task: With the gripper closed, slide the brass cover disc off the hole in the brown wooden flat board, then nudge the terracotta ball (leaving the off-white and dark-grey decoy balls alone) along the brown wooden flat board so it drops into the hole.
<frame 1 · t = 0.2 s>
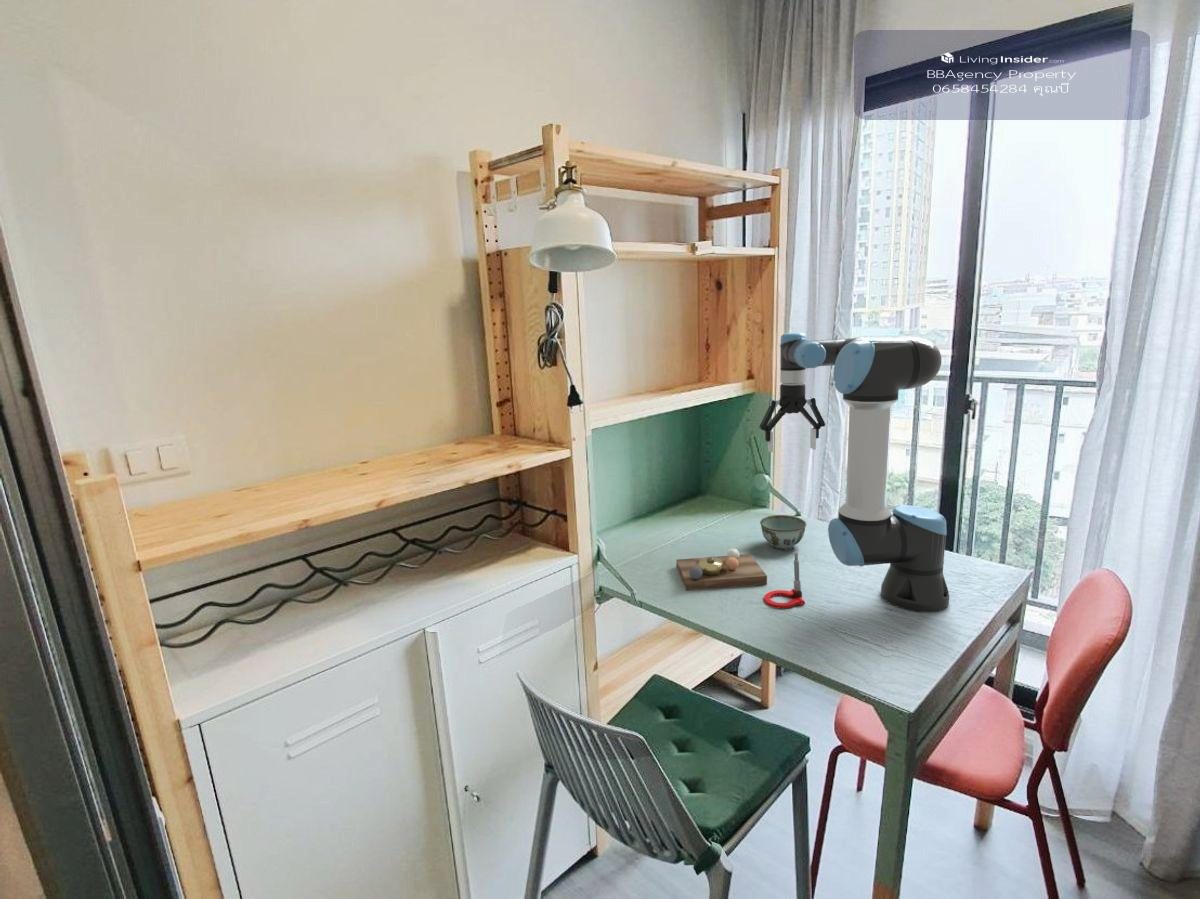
hand: (791, 450, 192), 28 cm above the table, fingers open, 13 cm apart
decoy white: (733, 554, 173), point 4 cm above the table, touching brown wooden flat board
cover: (710, 564, 167), point 5 cm above the table, slide at 0.0 cm
ball: (732, 563, 167), point 4 cm above the table, touching brown wooden flat board
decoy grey: (695, 572, 163), point 4 cm above the table, touching brown wooden flat board
brown wooden flat board: (719, 575, 170), on the table
tow hook: (782, 601, 154), on the table
bowl: (782, 547, 187), on the table
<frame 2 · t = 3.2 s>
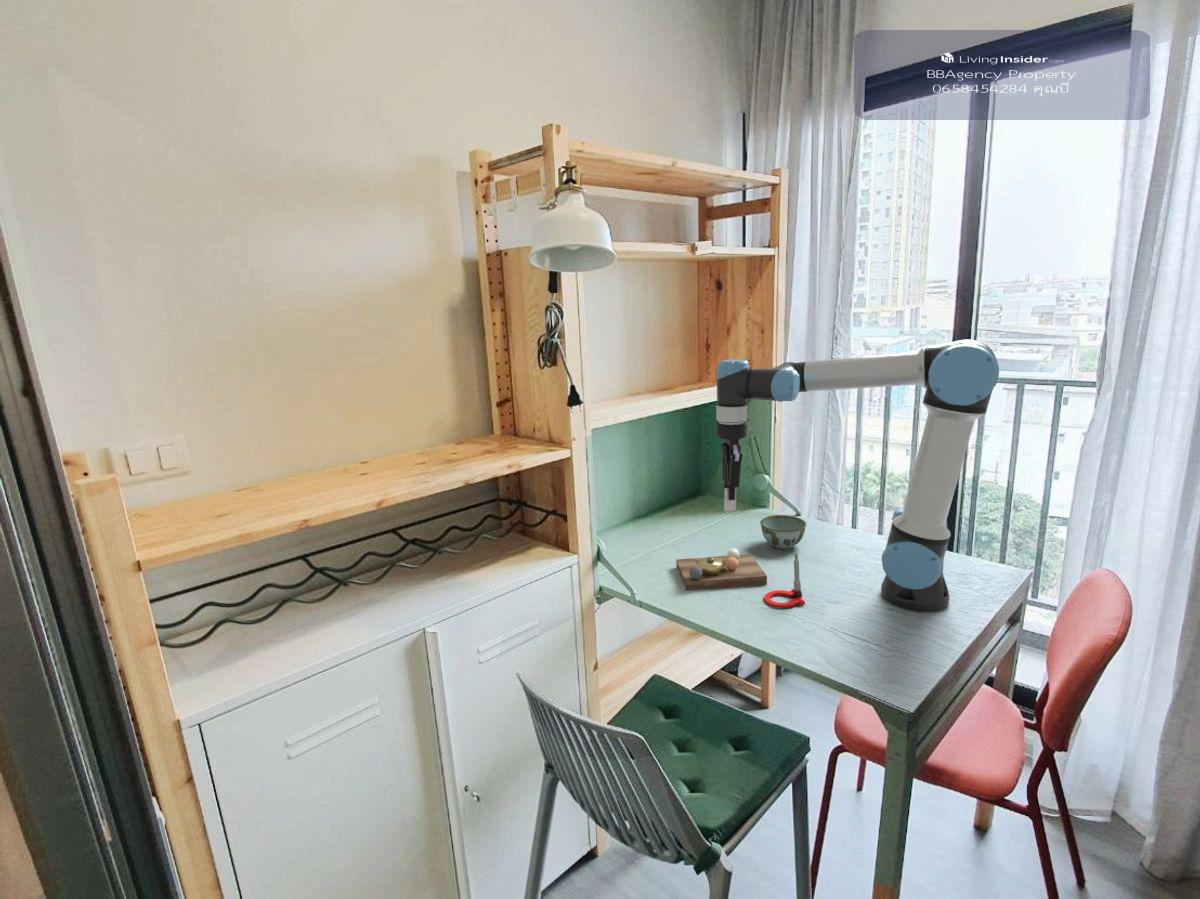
hand: (730, 510, 157), 22 cm above the table, fingers closed
nothing on the table moved.
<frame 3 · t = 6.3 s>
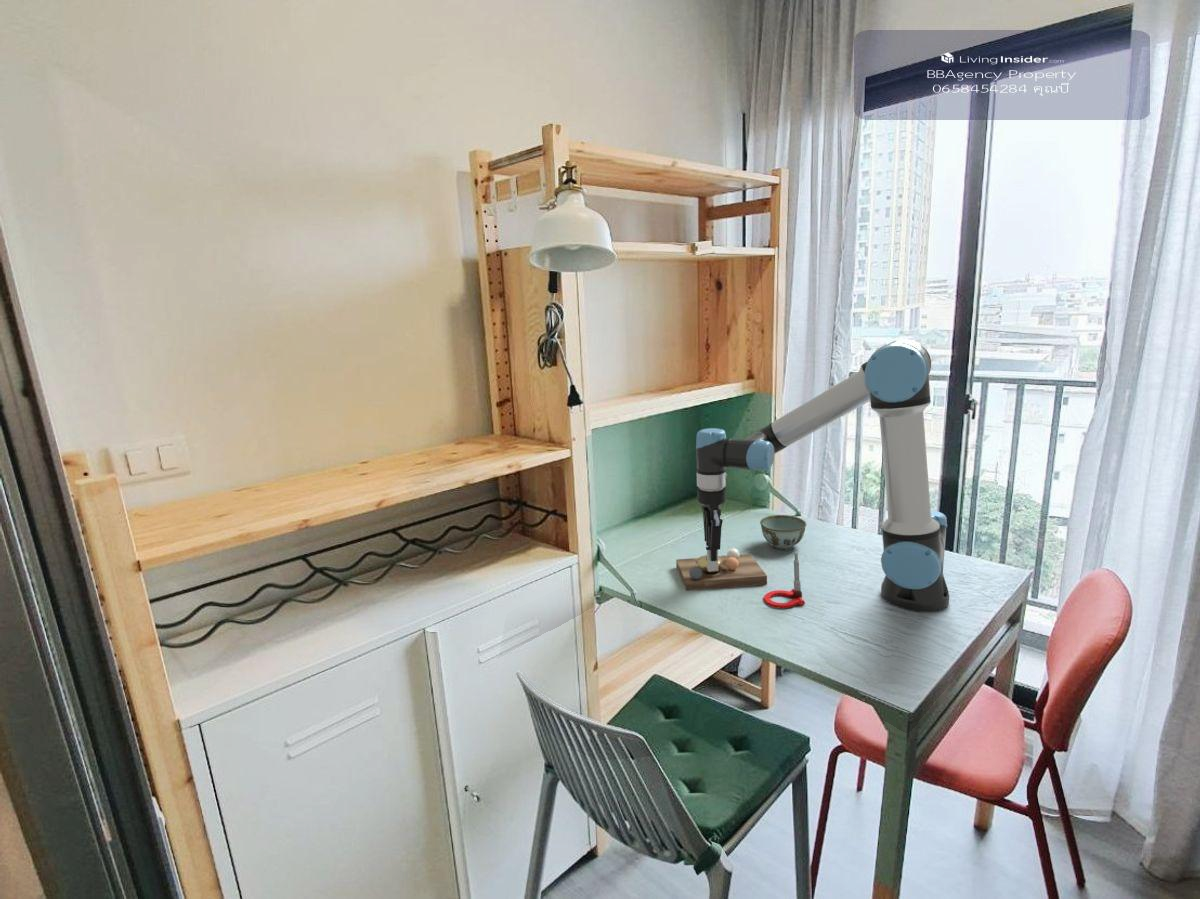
hand: (712, 570, 164), 4 cm above the table, fingers closed
cover: (709, 562, 168), point 5 cm above the table, slide at 1.4 cm, touching gripper
everything else where it was.
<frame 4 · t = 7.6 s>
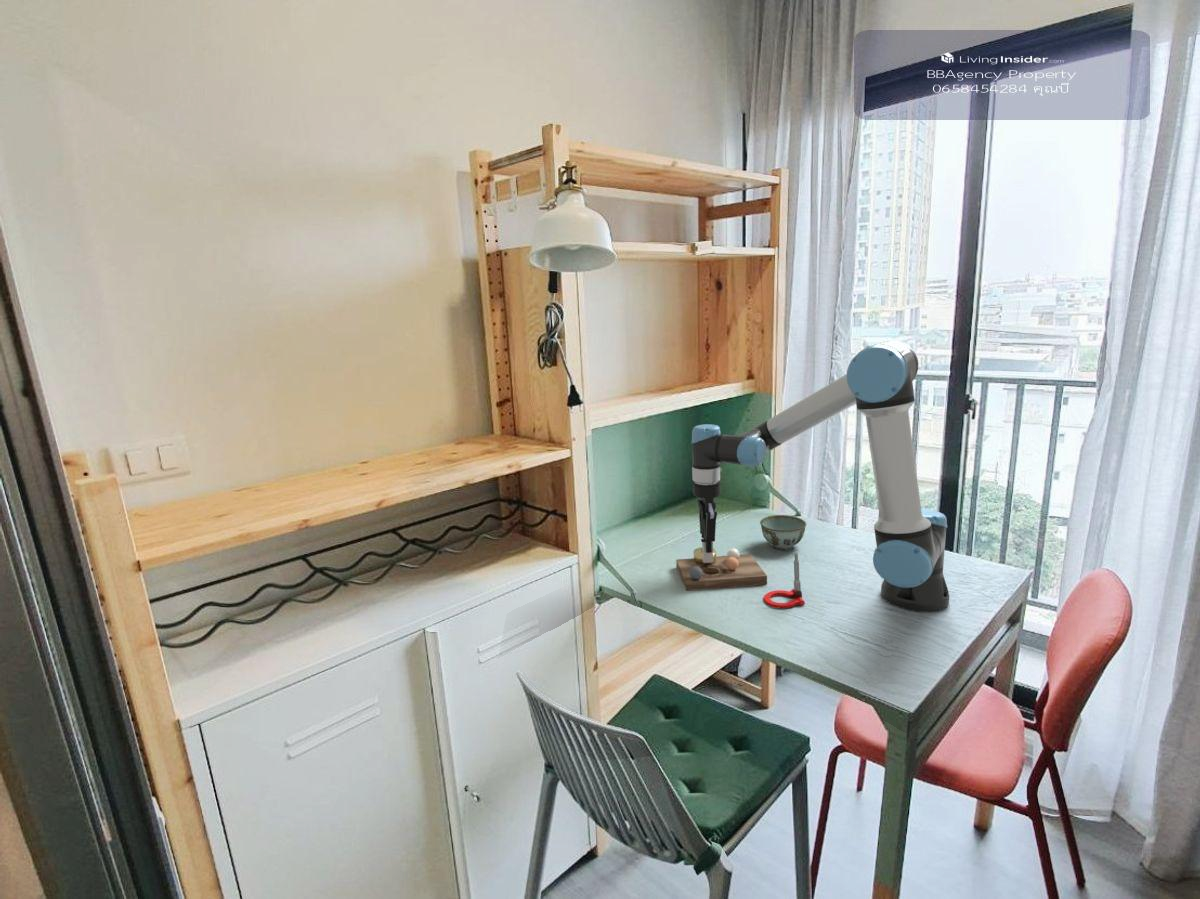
hand: (707, 561, 170), 4 cm above the table, fingers closed
cover: (704, 554, 174), point 5 cm above the table, slide at 7.2 cm, touching gripper
everything else where it was.
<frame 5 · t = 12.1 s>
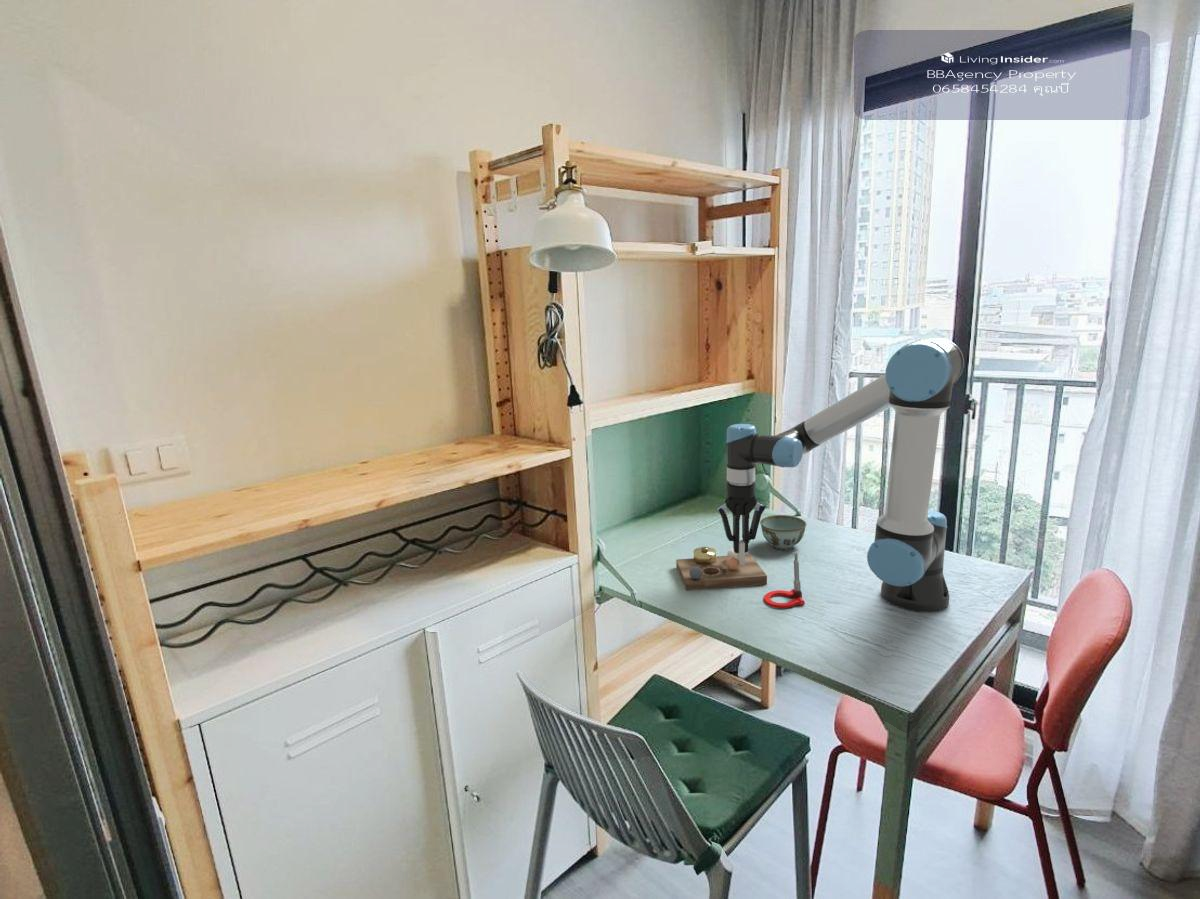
hand: (740, 563, 167), 4 cm above the table, fingers closed
cover: (704, 553, 174), point 5 cm above the table, slide at 7.4 cm
ball: (732, 563, 167), point 4 cm above the table, touching gripper, brown wooden flat board
everything else where it was.
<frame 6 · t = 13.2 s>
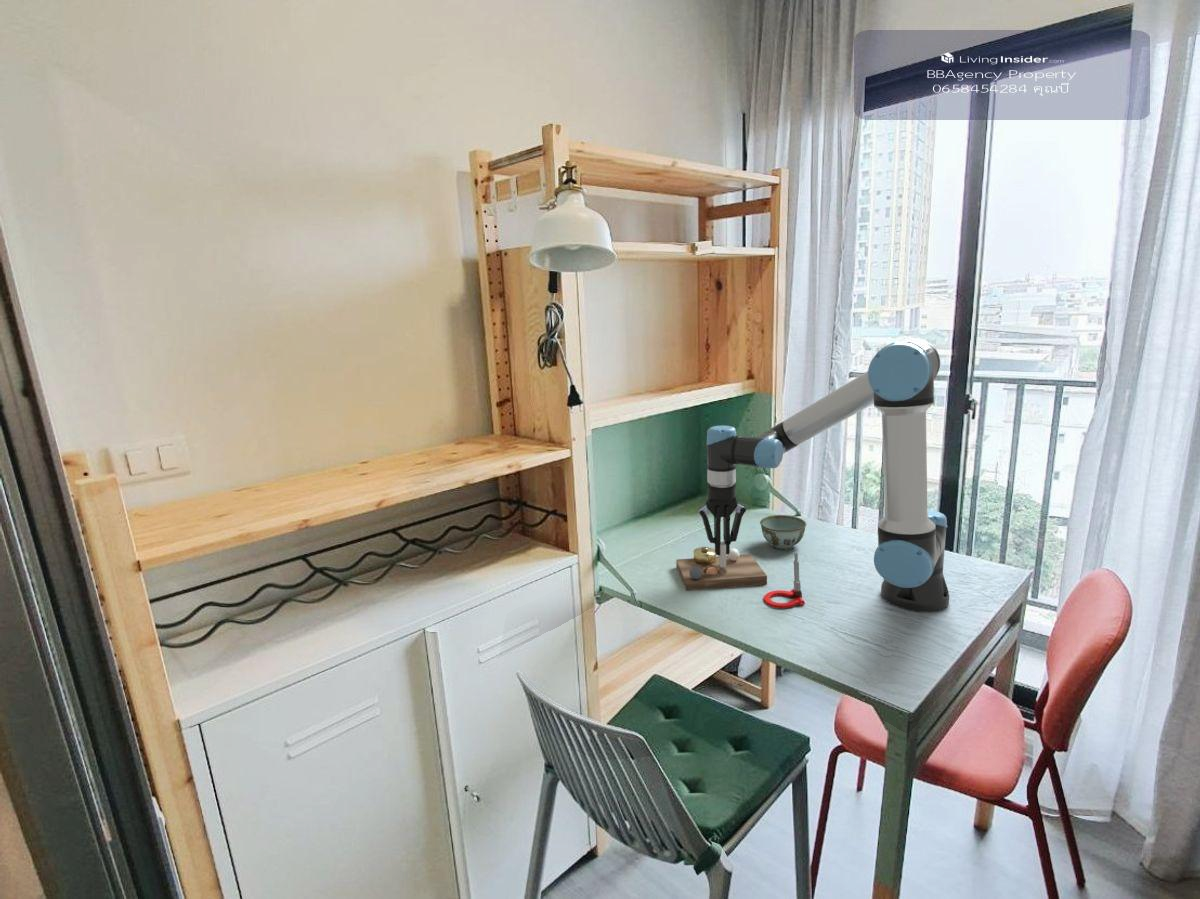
hand: (722, 565, 167), 4 cm above the table, fingers closed
ball: (712, 573, 167), point 2 cm above the table, tilted 145°
everything else where it was.
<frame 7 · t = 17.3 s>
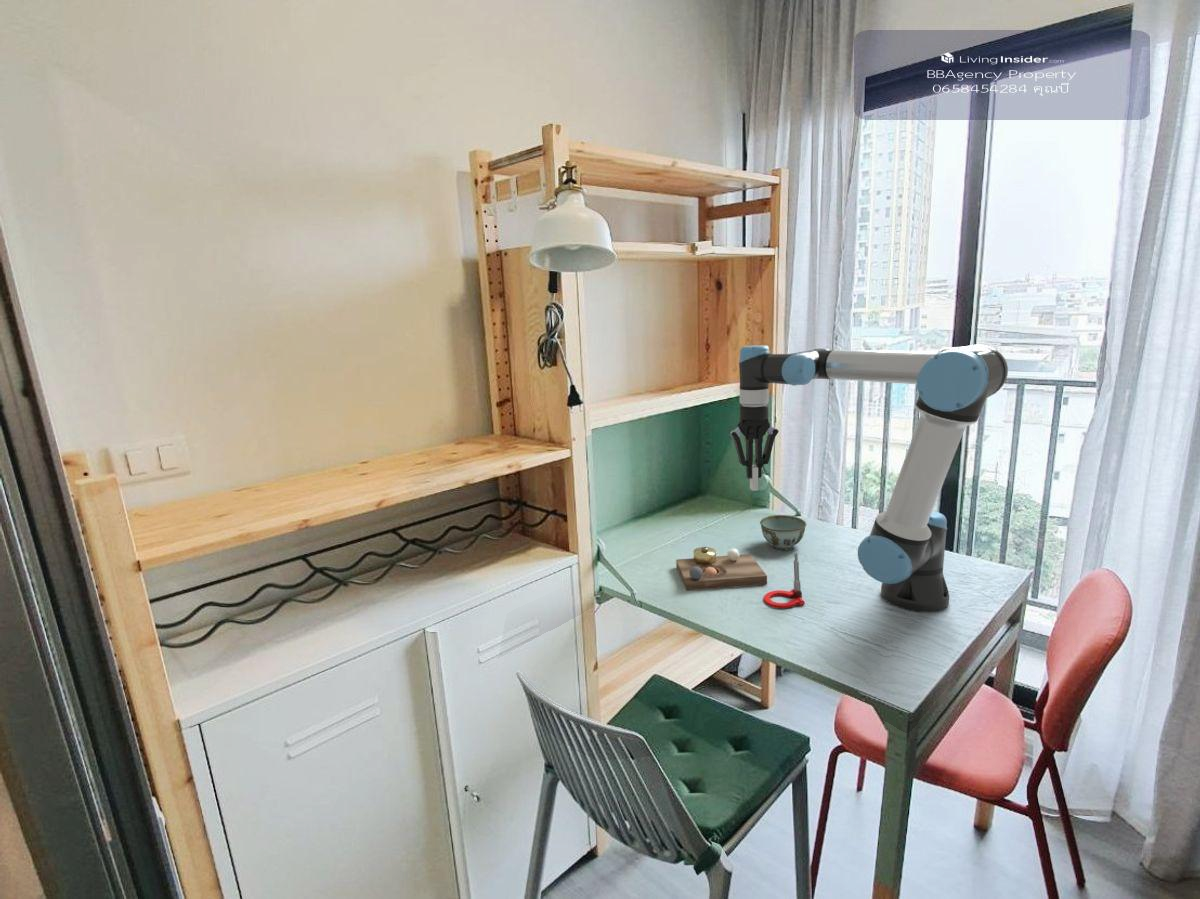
hand: (753, 489, 166), 24 cm above the table, fingers closed
ball: (710, 573, 167), point 2 cm above the table, tilted 132°
everything else where it was.
at the end: ball 0.2 cm from the target spot in the brown wooden flat board, point 1.7 cm above the brown wooden flat board's base; cover slide at 7.4 cm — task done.
